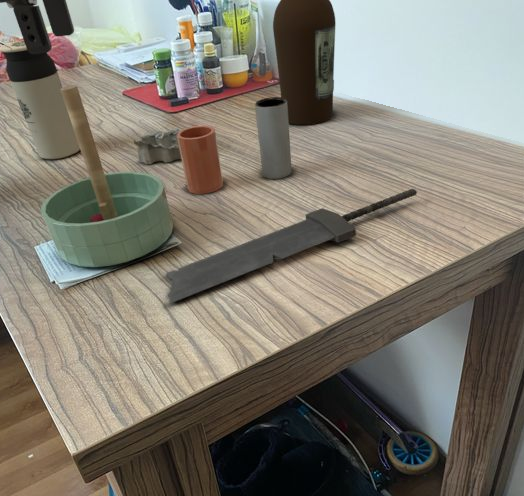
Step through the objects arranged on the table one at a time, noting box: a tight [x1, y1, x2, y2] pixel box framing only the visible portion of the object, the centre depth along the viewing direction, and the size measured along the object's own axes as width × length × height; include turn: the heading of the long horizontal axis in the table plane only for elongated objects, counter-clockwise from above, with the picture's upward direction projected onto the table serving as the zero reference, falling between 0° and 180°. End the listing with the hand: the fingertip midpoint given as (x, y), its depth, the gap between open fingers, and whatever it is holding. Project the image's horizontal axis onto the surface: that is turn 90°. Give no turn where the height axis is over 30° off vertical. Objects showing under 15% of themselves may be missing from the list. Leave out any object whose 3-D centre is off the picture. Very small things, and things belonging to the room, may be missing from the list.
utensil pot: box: [177, 125, 224, 195], centre depth 75 cm, size 5×5×8 cm
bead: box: [90, 214, 104, 223], centre depth 67 cm, size 3×3×3 cm
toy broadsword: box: [165, 188, 418, 304], centre depth 61 cm, size 7×35×2 cm, turn 117°
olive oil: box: [272, 0, 337, 126], centre depth 89 cm, size 11×11×25 cm
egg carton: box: [133, 125, 199, 165], centre depth 88 cm, size 11×8×4 cm
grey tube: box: [254, 96, 293, 180], centre depth 75 cm, size 4×4×10 cm
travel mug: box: [0, 39, 81, 160], centre depth 91 cm, size 8×8×18 cm
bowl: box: [40, 171, 174, 268], centre depth 66 cm, size 15×15×6 cm
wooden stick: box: [60, 84, 118, 220], centre depth 61 cm, size 2×3×18 cm, turn 1°
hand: (53, 43), depth 53 cm, fingers open, 8 cm apart
